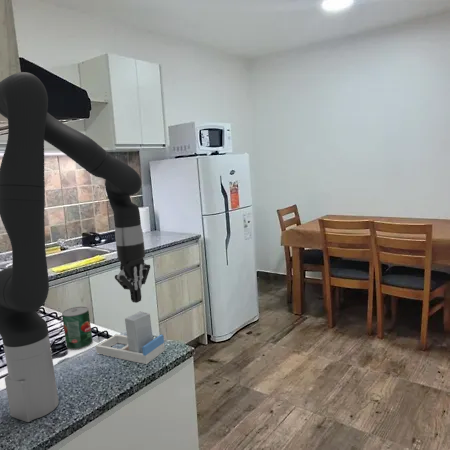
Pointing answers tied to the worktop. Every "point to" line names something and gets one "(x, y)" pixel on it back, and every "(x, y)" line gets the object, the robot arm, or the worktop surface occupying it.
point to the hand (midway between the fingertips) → (136, 301)
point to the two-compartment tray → (148, 353)
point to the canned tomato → (77, 327)
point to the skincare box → (138, 331)
